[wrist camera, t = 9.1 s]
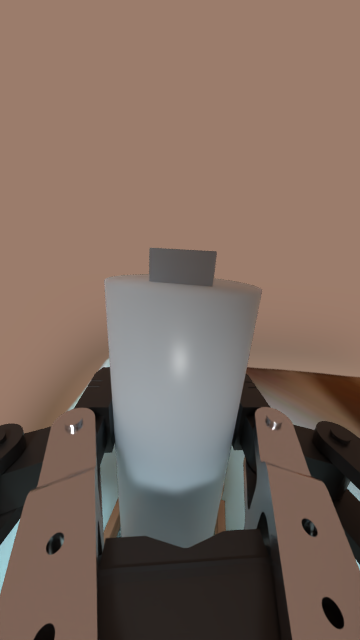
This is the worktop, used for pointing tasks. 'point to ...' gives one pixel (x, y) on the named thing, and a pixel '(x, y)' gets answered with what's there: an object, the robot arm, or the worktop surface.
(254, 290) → the grey cylindrical bottle
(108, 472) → the worktop surface
